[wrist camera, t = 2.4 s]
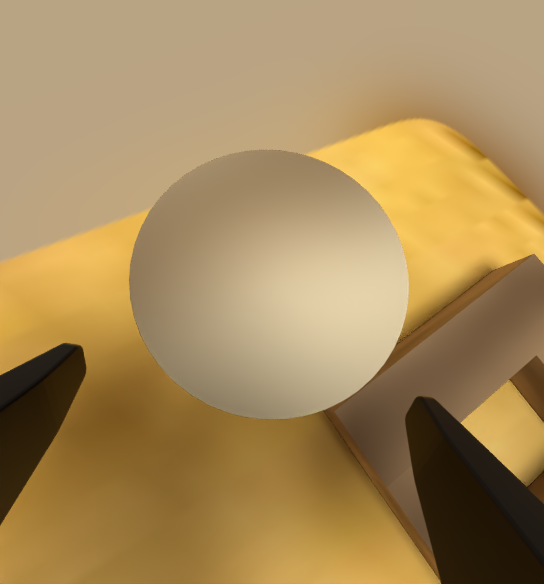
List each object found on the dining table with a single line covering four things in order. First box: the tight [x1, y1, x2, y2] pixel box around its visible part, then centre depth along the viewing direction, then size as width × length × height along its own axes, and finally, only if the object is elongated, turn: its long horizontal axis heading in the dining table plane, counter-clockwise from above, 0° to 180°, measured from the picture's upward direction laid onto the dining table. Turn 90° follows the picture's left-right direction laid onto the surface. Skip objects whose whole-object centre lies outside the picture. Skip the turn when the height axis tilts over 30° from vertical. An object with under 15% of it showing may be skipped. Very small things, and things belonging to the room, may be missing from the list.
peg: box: [129, 150, 409, 420], centre depth 12 cm, size 5×5×13 cm
